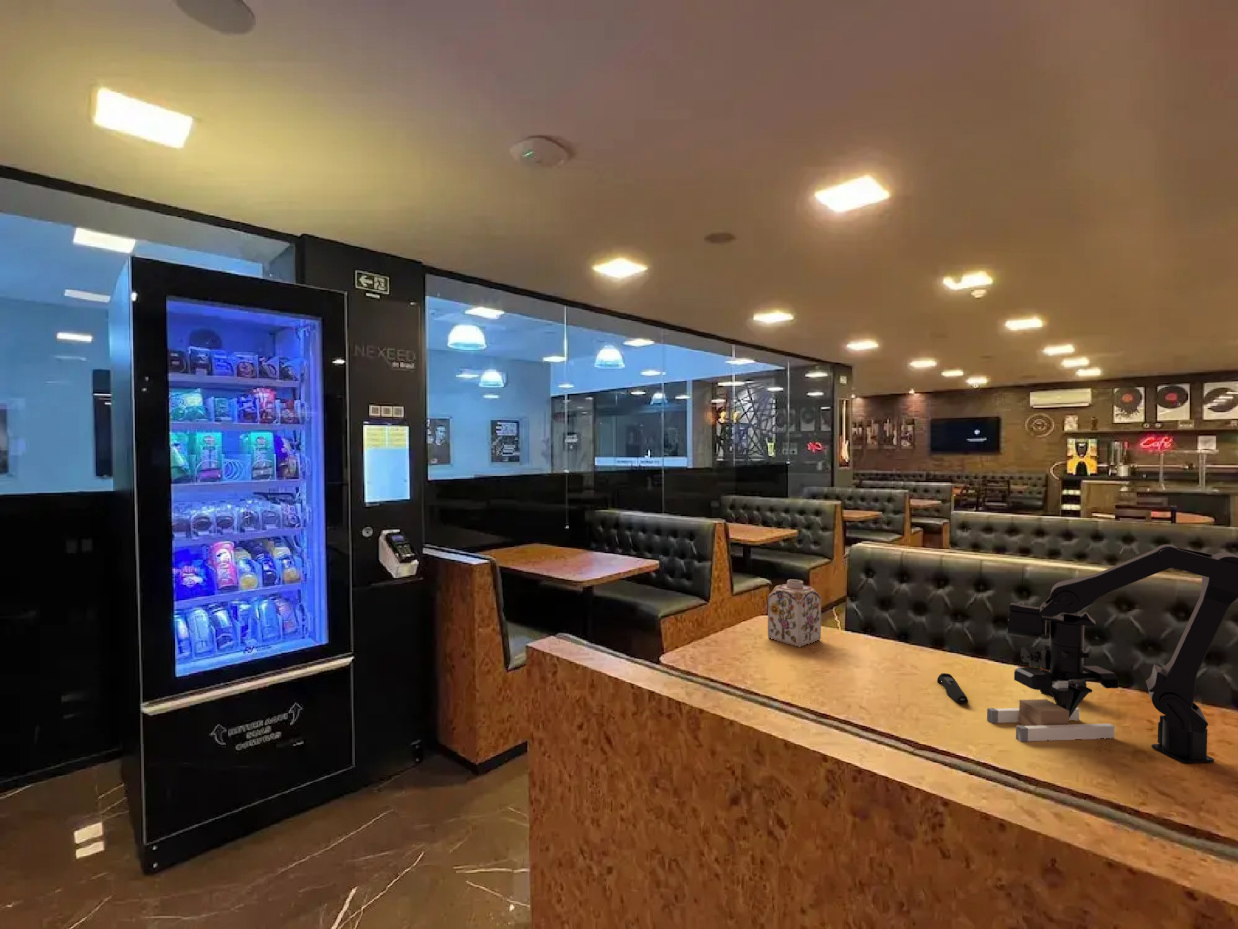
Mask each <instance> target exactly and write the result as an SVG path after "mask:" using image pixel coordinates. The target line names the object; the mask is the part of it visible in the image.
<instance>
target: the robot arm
mask: <svg viewBox="0 0 1238 929" xmlns="http://www.w3.org/2000/svg"><path fill="white" fill-rule="evenodd" d="M1172 568H1173V569H1177V570H1181V571H1184V572H1188V573H1190V574H1191V573H1192V574H1195V575H1198V576H1201V586H1200V587H1201V588H1200V596H1199V598H1198V600H1197V602H1196V605H1195V607H1194V608H1193V611H1192V613H1191V615H1190V618H1189V619H1188V622H1187V624H1186V626H1185V629H1184V630H1183V633H1182V635H1181V637H1180V639H1179V641H1178V644H1177V645H1176V648H1175V650H1174V652H1173V655H1172V656H1171V659H1170V660H1169V662H1167V664H1165V666H1163V667H1161V666H1159V665H1157V664H1153V667H1152V671H1151V674H1150V676H1149V678H1147V679H1146V680H1145V682H1146V686H1147V688H1148V693H1149V697H1150V700H1151V702H1152V704H1153V707H1154V708H1155V709H1156V710H1157V711H1158V712H1159V713H1160V714H1161V715H1159V722H1157V743H1152V744H1151V748H1152V749H1153V748H1154V749H1155V750H1157V751H1159V752H1161V753H1162V754H1164V755H1167V756H1168V757H1170V758H1173V759H1175V760H1177V761H1178V762H1180V763H1184V764H1188V763H1189V764H1191V763H1192V764H1193V763H1195V764H1196V763H1214V762H1215V758H1213V757H1211V756H1209V755H1208V753H1207V752H1208V728H1207V727H1208V726H1209V723H1208V721H1207V719H1206V717H1205V714H1204V713H1203V711H1202V709H1201V708H1200V706H1198V705H1197V704H1196V703H1195V697H1196V696H1195V695H1196V688H1197V676H1198V674H1199V671H1200V669H1201V666H1202V665H1203V662H1204V660H1205V659H1206V656H1207V655H1208V652H1209V650H1210V648H1211V646H1212V644H1213V641H1214V640H1215V637H1216V636H1217V633H1218V631H1219V630H1220V629H1219V628H1220V626H1221V625H1222V622H1223V621H1224V618H1225V616H1226V614H1227V612H1228V610H1229V608H1230V607H1231V606H1232V605H1233V604H1234V603H1235V602H1236V601H1237V600H1238V555H1236V554H1234V553H1230V552H1218V553H1215V554H1211V553H1207V552H1202V551H1196V550H1192V549H1187V548H1181V547H1177V546H1175V545H1172V544H1161V545H1158V546H1156V548H1155V549H1153V550H1150V551H1148V552H1145V553H1142V554H1140V555H1137V556H1135V557H1133V558H1131V559H1128V560H1125V561H1124V562H1121V563H1118V564H1117V565H1114V566H1111V567H1109V568H1107V569H1105V570H1103V571H1099V572H1097V573H1094V574H1090V575H1085V576H1080V577H1075V578H1071V579H1065V580H1062V581H1059V582H1057V583H1055V584H1054V585H1052V588H1051V591H1050V595H1049V597H1048V598H1047V599H1046V600H1045V601H1044V602H1042V604H1040V606H1030V605H1022V604H1020V603H1014V602H1010V605H1009V612H1008V613H1009V614H1008V619H1007V635H1009V636H1013V637H1014V636H1015V637H1019V638H1026V639H1027V638H1028V639H1032V640H1033V639H1034V640H1040V638H1042V637H1043V636H1047V621H1049V643H1047V644H1044V646H1043V650H1036V649H1035V647H1034V646H1021V648H1020V659H1021V662H1023V663H1028V665H1029V666H1027V667H1026V666H1023V667H1021V666H1020V667H1019V666H1018V667H1017V668H1016V669H1014V673H1013V680H1014V681H1016V682H1017V683H1020V684H1021V685H1023V686H1026V687H1027V688H1029V689H1031V690H1035V691H1040V690H1050V691H1051V693H1052V695H1053V696H1052V697H1053V699H1054V702H1055V704H1056V705H1058V706H1060V707H1062V708H1064V709H1066V710H1068V711H1069V718H1070V716H1071V715H1072V713H1073V712H1074V711H1075V709H1076V708H1078V706H1079V705H1080V704H1081V703H1082V702H1083V700H1084V699H1085V698H1086V697H1087V695H1088V694H1090V693H1093V689H1092V688H1090V687H1088V684H1087V682H1100V685H1101V686H1102V687H1103V688H1105V689H1118V688H1119V678H1118V676H1117V674H1116V673H1115V672H1113V671H1111V670H1108V669H1105V668H1103V667H1101V666H1097V665H1084V659H1085V658H1089V656H1090V652H1088V651H1085V650H1084V647H1085V643H1084V642H1085V626H1086V627H1092V628H1094V627H1096V620H1095V619H1093V618H1092V617H1091V616H1090V615H1089V613H1088V612H1087V611H1084V612H1083V613H1081V614H1076V613H1079V612H1080V611H1082V610H1084V609H1086V608H1087V607H1089V606H1090V605H1092V604H1093V603H1095V602H1096V601H1097V600H1099V599H1100V598H1102V597H1104V595H1106V594H1108V593H1111V592H1113V591H1116V590H1118V589H1120V588H1123V587H1125V586H1128V585H1130V584H1133V583H1136V582H1138V581H1140V580H1143V579H1146V578H1148V577H1150V576H1154V575H1156V574H1159V573H1161V572H1163V571H1167V570H1168V569H1172ZM1060 614H1063V616H1061V615H1060ZM1059 615H1060V616H1059ZM1036 666H1040V669H1038V668H1036ZM1041 668H1042V669H1044V670H1049V672H1048V673H1045V672H1043V671H1041Z"/></svg>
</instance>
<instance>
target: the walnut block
mask: <svg viewBox="0 0 1238 929" xmlns="http://www.w3.org/2000/svg"><path fill="white" fill-rule="evenodd" d="M1018 702H1019V707H1018V708H1019V722H1018V724H1019V725H1023V726H1040V725H1070V721H1069V711H1068V710H1066V709H1064V708H1062V707H1060V706H1058V705H1056V702H1055V703H1054V702H1052V701H1051V700H1048V699H1045V698H1042V699H1035V698H1034V699H1019V700H1018Z"/></svg>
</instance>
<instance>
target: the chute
mask: <svg viewBox="0 0 1238 929" xmlns="http://www.w3.org/2000/svg"><path fill="white" fill-rule="evenodd" d="M1069 720H1075V721H1080V708H1079V707H1077V708H1076V709H1075V711H1074V712H1073V713H1072V715H1071V716H1070V718H1069ZM986 721H988V722H989V723H991V724H999V723H1000V724H1001V723H1003V724H1004V723H1006V724H1007V723H1019V707H1008V708H1003V707H1002V708H994V707H986ZM1097 738H1098V739H1097ZM1100 738H1104V739H1103V740H1105V739H1106V738H1110V739H1111V738H1113V739H1115V725H1114V724H1112V723H1109V722H1108V723H1085V724H1083V723H1081V724H1080V723H1078V724H1077V723H1076V724H1069V725H1040V726H1023V725H1021V724H1019V725H1015V739H1016V740H1018V741H1019V742H1021V743H1024V742H1026V743H1027V742H1041V741H1042V742H1043V741H1044V742H1046V741H1047V740H1049V741H1073V740H1074V741H1076V740H1075V739H1082V740H1101V739H1100ZM1110 739H1109V740H1110ZM1111 740H1112V739H1111ZM1049 741H1048V742H1049Z"/></svg>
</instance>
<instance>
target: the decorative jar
mask: <svg viewBox="0 0 1238 929" xmlns="http://www.w3.org/2000/svg"><path fill="white" fill-rule="evenodd" d="M767 603H768V604H767V609H768V610H767V638H768V639H769V638H772V639H774V640H773V641H775V640H777V641H776V642H779V641H780V642H779V643H782V642H783V643H782V644H785V643H786V645H789V644H792V645H791V646H793V645H795V646H794V647H796V646H798V647H797V648H802V647H805V646H807V645H806V644H808V645H811V644H814V643H816V642H815V641H817V640H820V639H821V638H822V636H821V633H822V596H821V595H820V594H819V593H818V591H817V590H816V589H815V588H813V587H812V586H809V585H805V584H804V581H803V580H801V579H791V578H790V579H788V580H787V581H786V583H785V584H784V583H783V584H779V585H776V586H775V587H774V588H773V589H772V591H770V593H768V602H767ZM820 641H821V640H820ZM813 642H814V643H813ZM817 642H818V641H817ZM810 643H811V644H810ZM804 645H805V646H804ZM801 646H802V647H801Z"/></svg>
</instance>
